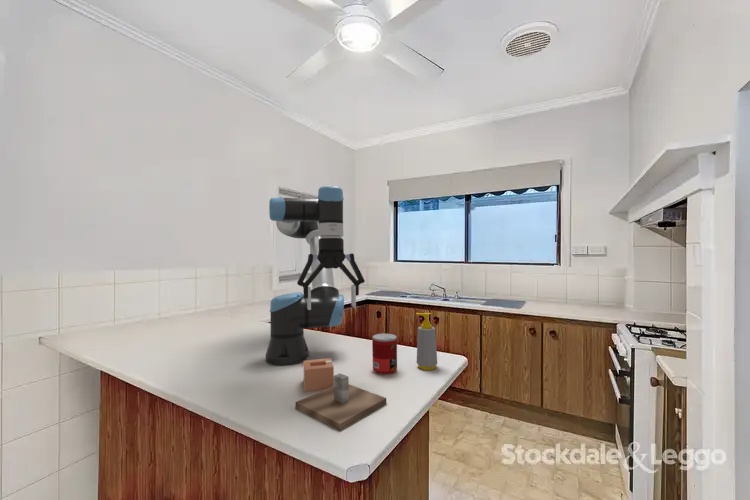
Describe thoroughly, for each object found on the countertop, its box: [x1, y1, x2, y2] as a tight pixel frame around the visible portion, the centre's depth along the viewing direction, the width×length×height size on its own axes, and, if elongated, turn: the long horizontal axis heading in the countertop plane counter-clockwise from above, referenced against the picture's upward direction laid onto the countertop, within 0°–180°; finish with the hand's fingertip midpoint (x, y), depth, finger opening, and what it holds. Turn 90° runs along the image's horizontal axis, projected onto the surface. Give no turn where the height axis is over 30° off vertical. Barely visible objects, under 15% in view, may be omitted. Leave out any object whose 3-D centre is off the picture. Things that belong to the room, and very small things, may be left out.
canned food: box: [371, 333, 398, 375], centre depth 106 cm, size 8×8×11 cm
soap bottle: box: [415, 312, 438, 371], centre depth 108 cm, size 7×7×18 cm
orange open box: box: [303, 357, 335, 392], centre depth 95 cm, size 8×8×6 cm
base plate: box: [294, 372, 387, 431], centre depth 82 cm, size 16×16×8 cm
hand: (331, 307), depth 99 cm, fingers open, 13 cm apart
